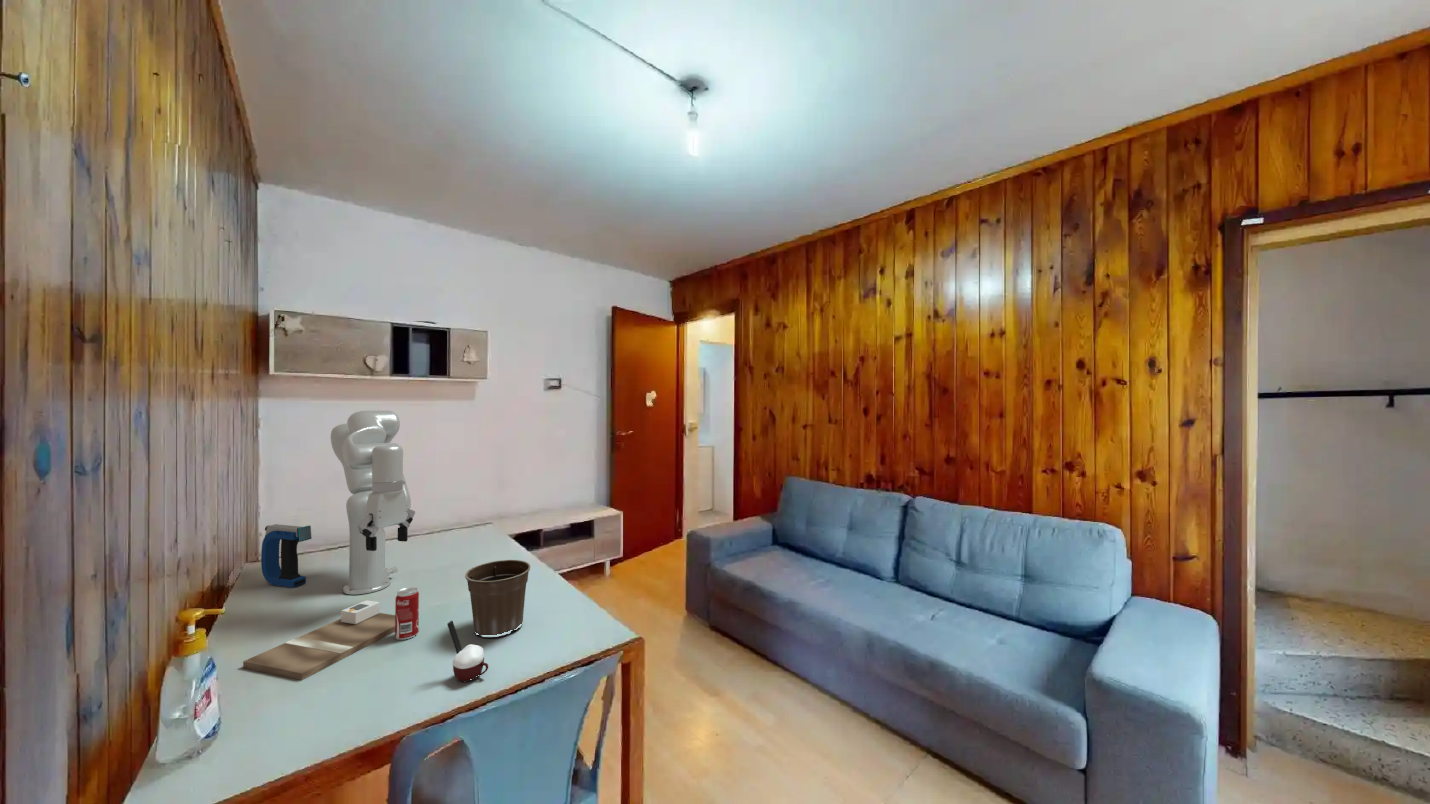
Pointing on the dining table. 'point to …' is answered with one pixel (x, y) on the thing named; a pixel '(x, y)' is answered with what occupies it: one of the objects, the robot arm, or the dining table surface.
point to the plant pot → (497, 595)
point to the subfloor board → (321, 647)
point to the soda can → (406, 613)
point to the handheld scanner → (283, 554)
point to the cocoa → (466, 658)
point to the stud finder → (360, 612)
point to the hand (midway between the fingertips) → (387, 545)
